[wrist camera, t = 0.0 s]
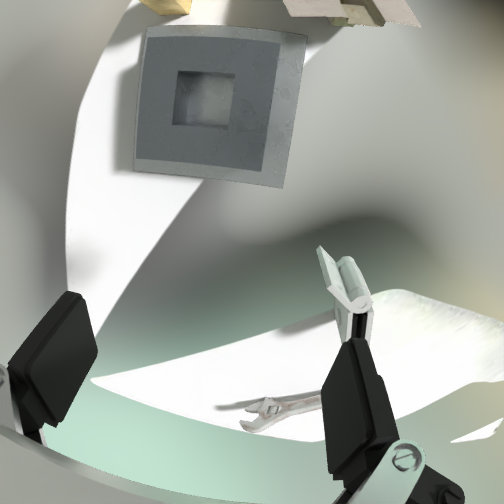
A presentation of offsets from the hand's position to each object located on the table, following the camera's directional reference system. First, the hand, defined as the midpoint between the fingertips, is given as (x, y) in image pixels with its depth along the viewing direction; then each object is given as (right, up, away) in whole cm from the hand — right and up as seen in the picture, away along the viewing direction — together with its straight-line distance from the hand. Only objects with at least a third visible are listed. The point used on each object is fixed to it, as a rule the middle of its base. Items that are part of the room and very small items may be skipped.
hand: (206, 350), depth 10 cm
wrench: (+14, -26, +48) cm, 56 cm away
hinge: (+15, -1, +35) cm, 38 cm away
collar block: (-3, +22, +24) cm, 33 cm away
